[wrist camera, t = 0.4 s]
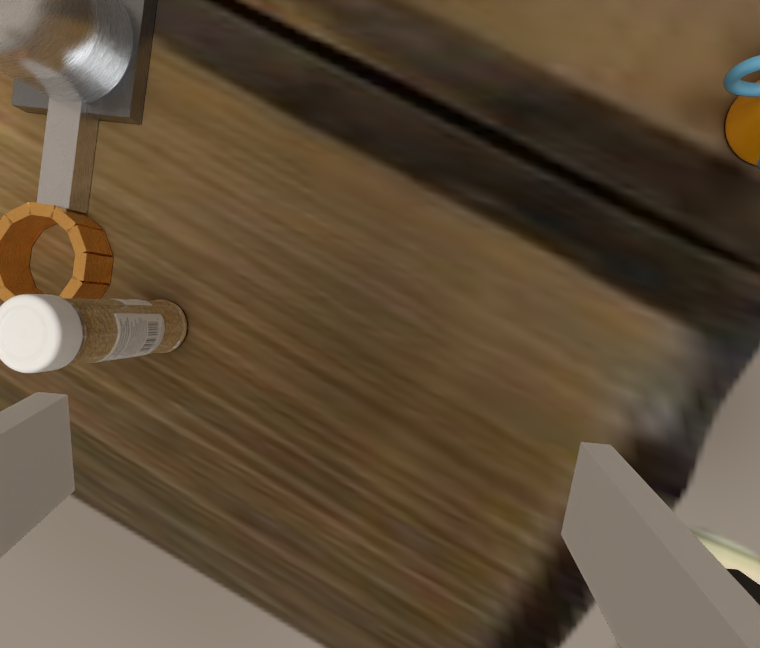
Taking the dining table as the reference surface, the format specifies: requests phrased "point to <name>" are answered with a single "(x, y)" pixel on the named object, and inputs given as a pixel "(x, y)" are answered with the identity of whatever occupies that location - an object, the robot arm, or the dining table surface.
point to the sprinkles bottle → (84, 330)
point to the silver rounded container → (70, 120)
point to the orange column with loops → (744, 112)
